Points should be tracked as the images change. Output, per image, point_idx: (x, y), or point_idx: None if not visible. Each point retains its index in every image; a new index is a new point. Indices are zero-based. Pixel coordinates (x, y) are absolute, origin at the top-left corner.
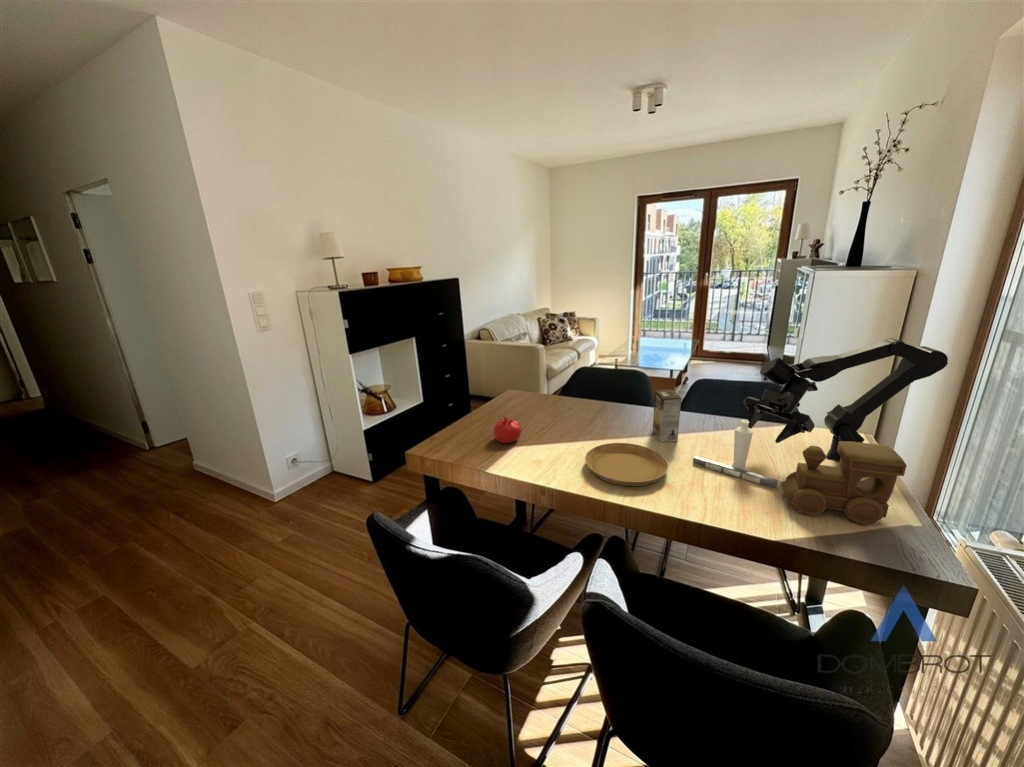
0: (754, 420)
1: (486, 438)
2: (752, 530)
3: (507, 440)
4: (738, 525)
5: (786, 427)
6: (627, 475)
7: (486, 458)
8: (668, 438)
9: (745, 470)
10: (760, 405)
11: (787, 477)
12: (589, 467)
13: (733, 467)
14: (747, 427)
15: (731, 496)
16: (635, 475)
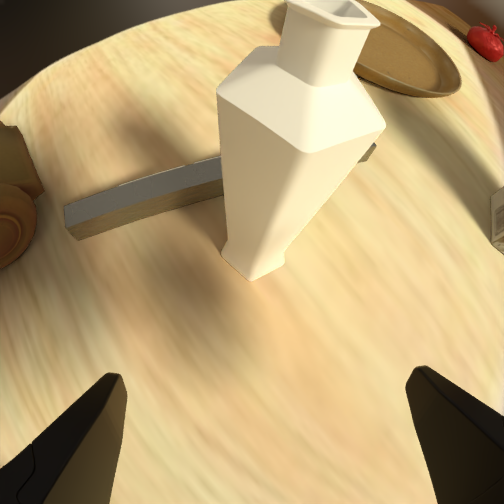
0: (460, 479)
1: None
2: (73, 58)
3: (468, 36)
4: (97, 50)
5: (18, 498)
6: None
7: (430, 13)
8: (497, 210)
9: (189, 187)
10: None
11: (16, 187)
12: (367, 2)
13: None
14: (280, 50)
15: (152, 90)
16: None
